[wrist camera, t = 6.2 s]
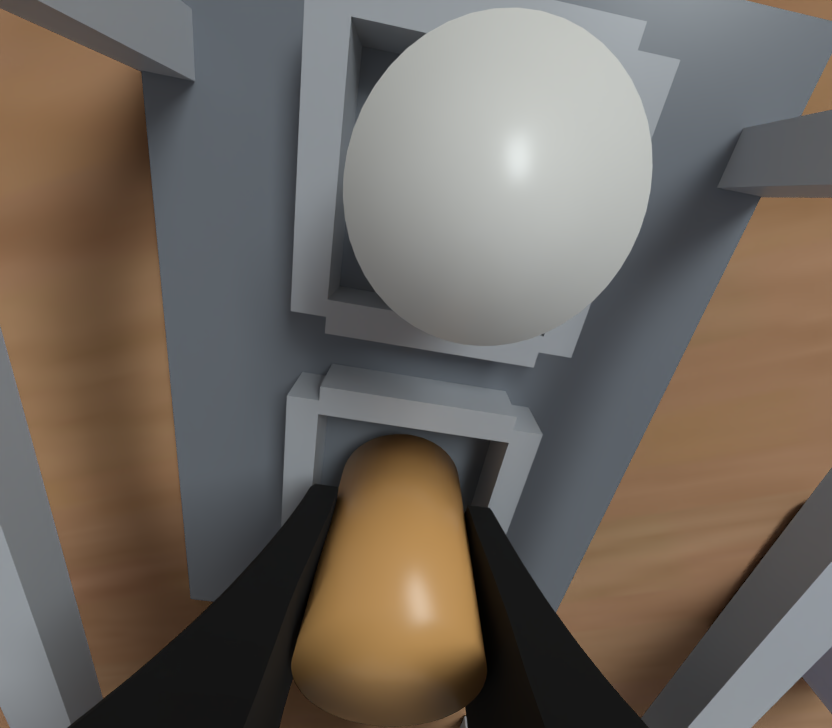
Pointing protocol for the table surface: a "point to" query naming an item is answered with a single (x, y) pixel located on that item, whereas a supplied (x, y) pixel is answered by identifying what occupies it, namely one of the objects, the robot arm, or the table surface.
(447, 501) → the brown egg
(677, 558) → the table surface
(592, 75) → the white egg
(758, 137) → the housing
